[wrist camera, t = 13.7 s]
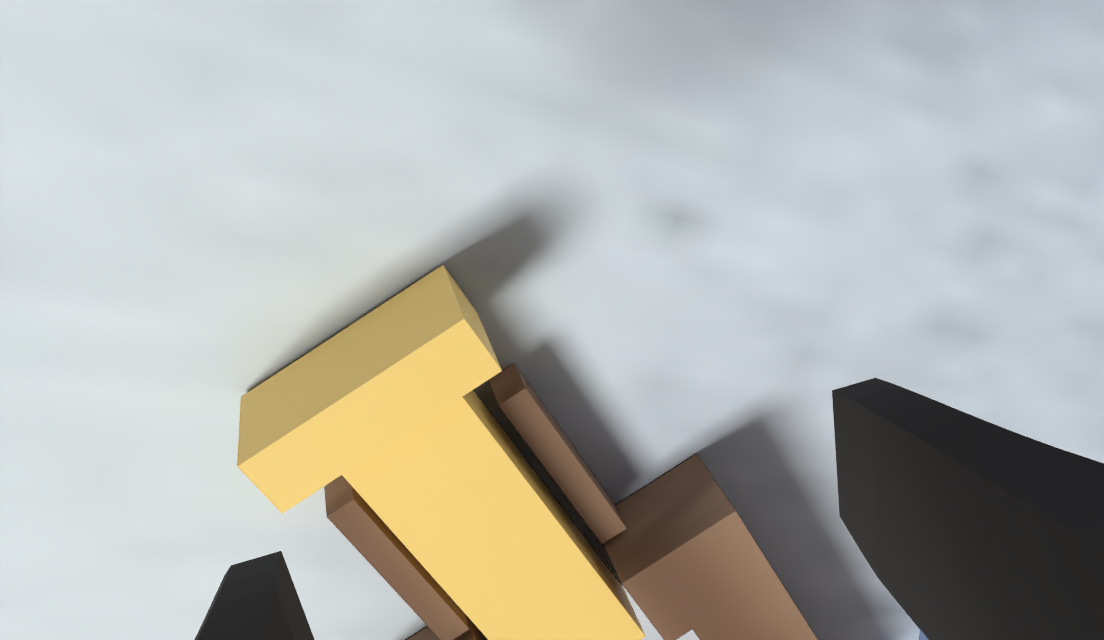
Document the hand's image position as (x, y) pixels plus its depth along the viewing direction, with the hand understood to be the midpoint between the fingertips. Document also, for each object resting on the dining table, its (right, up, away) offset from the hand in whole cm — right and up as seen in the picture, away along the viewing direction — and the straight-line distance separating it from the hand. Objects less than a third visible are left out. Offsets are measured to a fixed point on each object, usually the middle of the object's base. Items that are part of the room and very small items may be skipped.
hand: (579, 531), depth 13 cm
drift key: (-2, -1, +12) cm, 12 cm away
